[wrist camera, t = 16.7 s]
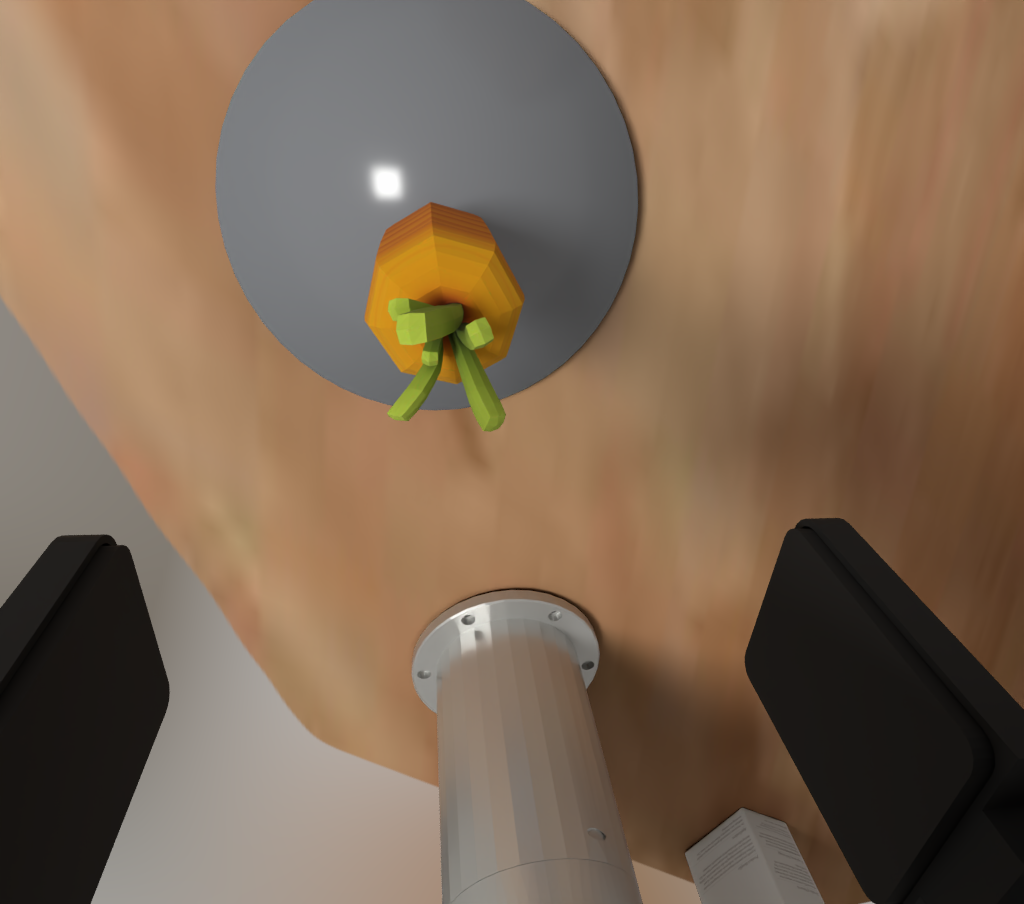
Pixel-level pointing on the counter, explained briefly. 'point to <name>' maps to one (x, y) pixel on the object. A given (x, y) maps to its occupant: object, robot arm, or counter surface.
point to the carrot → (444, 307)
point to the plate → (423, 176)
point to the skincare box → (751, 864)
